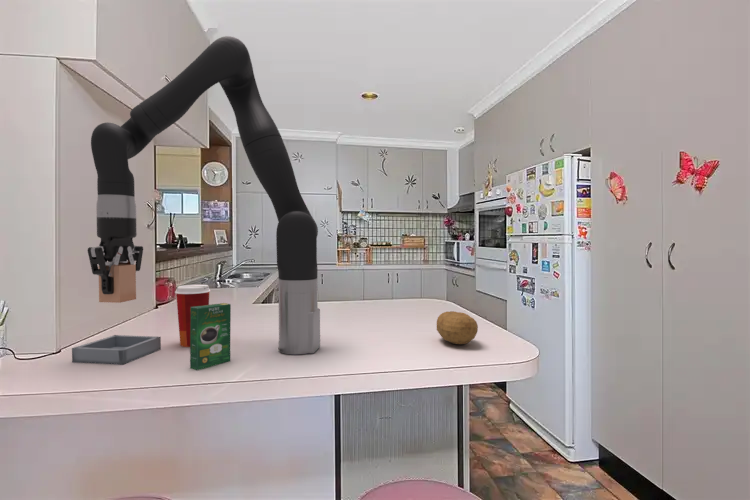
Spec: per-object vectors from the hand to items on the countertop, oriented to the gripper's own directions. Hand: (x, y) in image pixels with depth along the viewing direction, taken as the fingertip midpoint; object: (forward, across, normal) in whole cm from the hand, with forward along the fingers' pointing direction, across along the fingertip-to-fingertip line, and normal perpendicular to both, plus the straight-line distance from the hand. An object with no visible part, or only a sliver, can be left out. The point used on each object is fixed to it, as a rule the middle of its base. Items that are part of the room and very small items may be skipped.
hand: (118, 292), depth 92 cm
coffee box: (+15, -3, -24) cm, 29 cm away
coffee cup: (+15, +12, -11) cm, 22 cm away
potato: (+15, +24, -76) cm, 81 cm away
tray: (+15, 0, 0) cm, 15 cm away
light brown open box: (+2, 0, 0) cm, 2 cm away
